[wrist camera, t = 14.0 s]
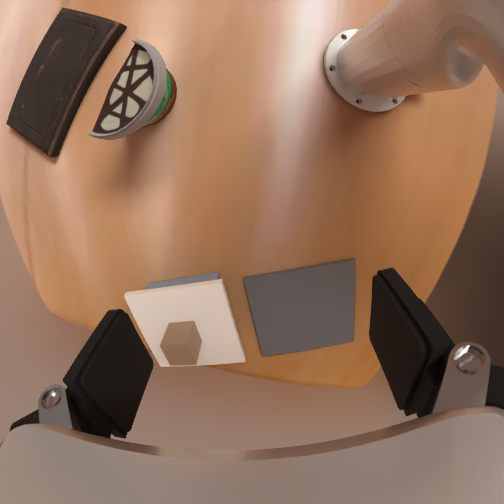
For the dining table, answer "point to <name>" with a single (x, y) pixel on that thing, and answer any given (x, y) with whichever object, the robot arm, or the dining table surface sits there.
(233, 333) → the lid
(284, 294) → the mat
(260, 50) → the dining table surface
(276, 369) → the dining table surface
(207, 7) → the dining table surface
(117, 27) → the hardcover book
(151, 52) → the food container
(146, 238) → the dining table surface
